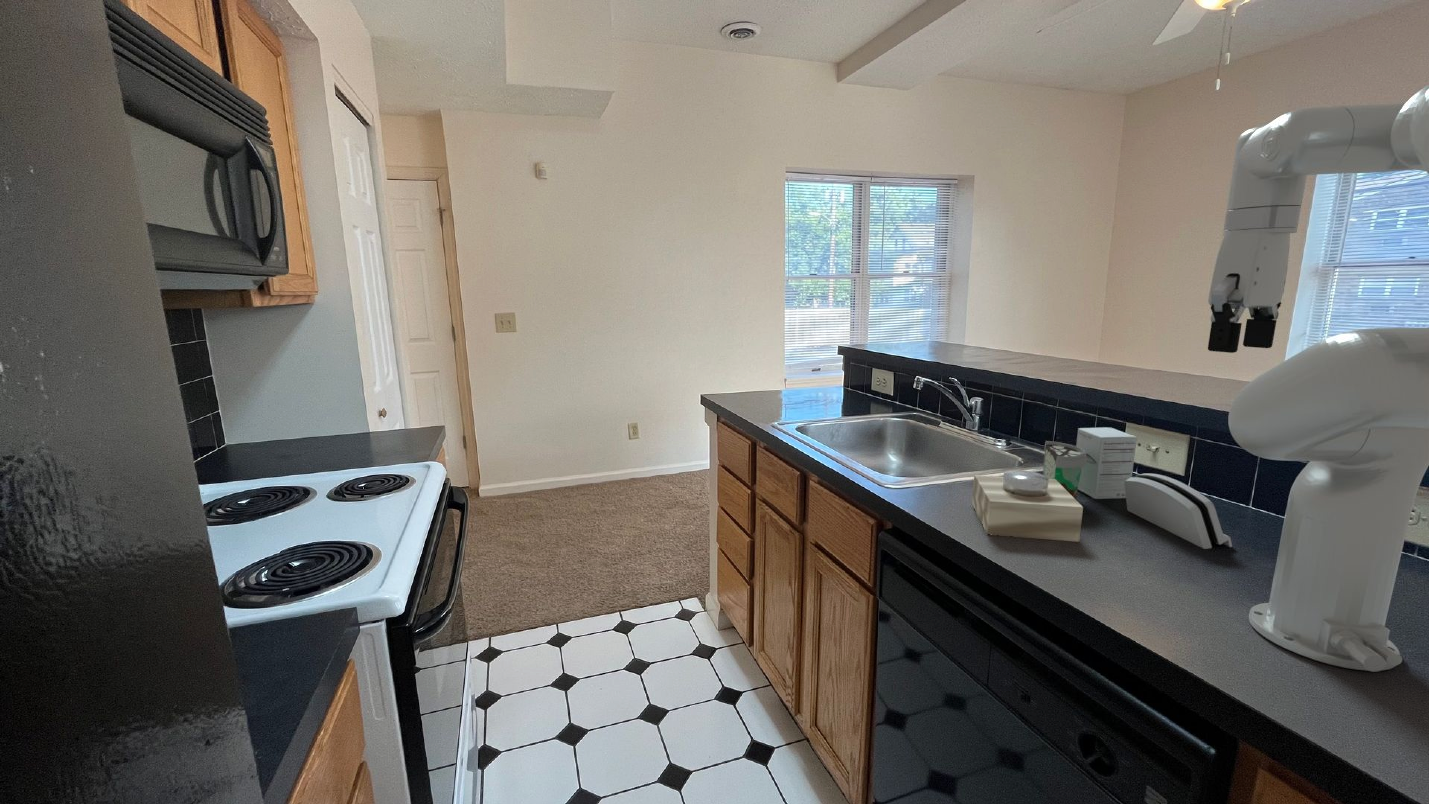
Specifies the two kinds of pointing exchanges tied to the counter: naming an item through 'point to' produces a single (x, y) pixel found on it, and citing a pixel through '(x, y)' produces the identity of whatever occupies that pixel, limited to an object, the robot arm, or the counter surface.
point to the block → (1026, 511)
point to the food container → (1064, 464)
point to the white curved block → (1175, 509)
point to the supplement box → (1106, 461)
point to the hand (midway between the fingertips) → (1239, 349)
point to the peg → (1025, 483)
